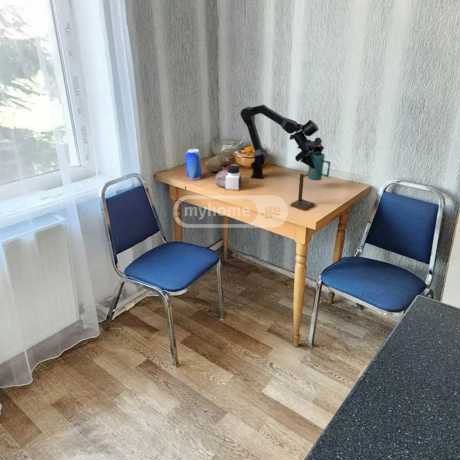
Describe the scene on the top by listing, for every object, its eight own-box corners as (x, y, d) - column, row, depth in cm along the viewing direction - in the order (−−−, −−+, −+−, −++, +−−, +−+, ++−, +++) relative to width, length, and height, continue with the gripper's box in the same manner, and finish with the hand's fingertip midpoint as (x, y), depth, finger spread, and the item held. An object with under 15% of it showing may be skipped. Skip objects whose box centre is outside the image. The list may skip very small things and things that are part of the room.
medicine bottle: (238, 190, 205) (238, 168, 200) (225, 189, 206) (225, 167, 201) (241, 185, 211) (241, 164, 206) (228, 184, 212) (228, 163, 207)
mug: (304, 177, 207) (307, 153, 202) (312, 175, 212) (315, 151, 207) (323, 183, 200) (327, 159, 195) (331, 180, 205) (335, 156, 199)
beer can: (204, 176, 225) (203, 149, 218) (198, 181, 218) (197, 153, 211) (190, 174, 228) (189, 147, 221) (184, 179, 220) (182, 151, 214)
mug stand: (290, 205, 187) (292, 176, 181) (309, 196, 197) (312, 168, 191) (304, 210, 182) (306, 181, 176) (323, 200, 192) (326, 172, 186)
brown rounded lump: (215, 164, 248) (196, 166, 232) (218, 152, 246) (199, 154, 229) (232, 172, 243) (213, 174, 226) (235, 160, 240) (217, 161, 223)
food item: (228, 189, 206) (228, 171, 202) (214, 187, 209) (214, 169, 205) (238, 181, 217) (238, 164, 213) (225, 179, 220) (225, 162, 216)
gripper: (301, 136, 194) (318, 162, 192) (322, 129, 206) (338, 154, 204) (288, 148, 203) (304, 173, 200) (309, 141, 215) (324, 165, 212)
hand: (318, 166), depth 204 cm, fingers closed on mug, 7 cm apart
